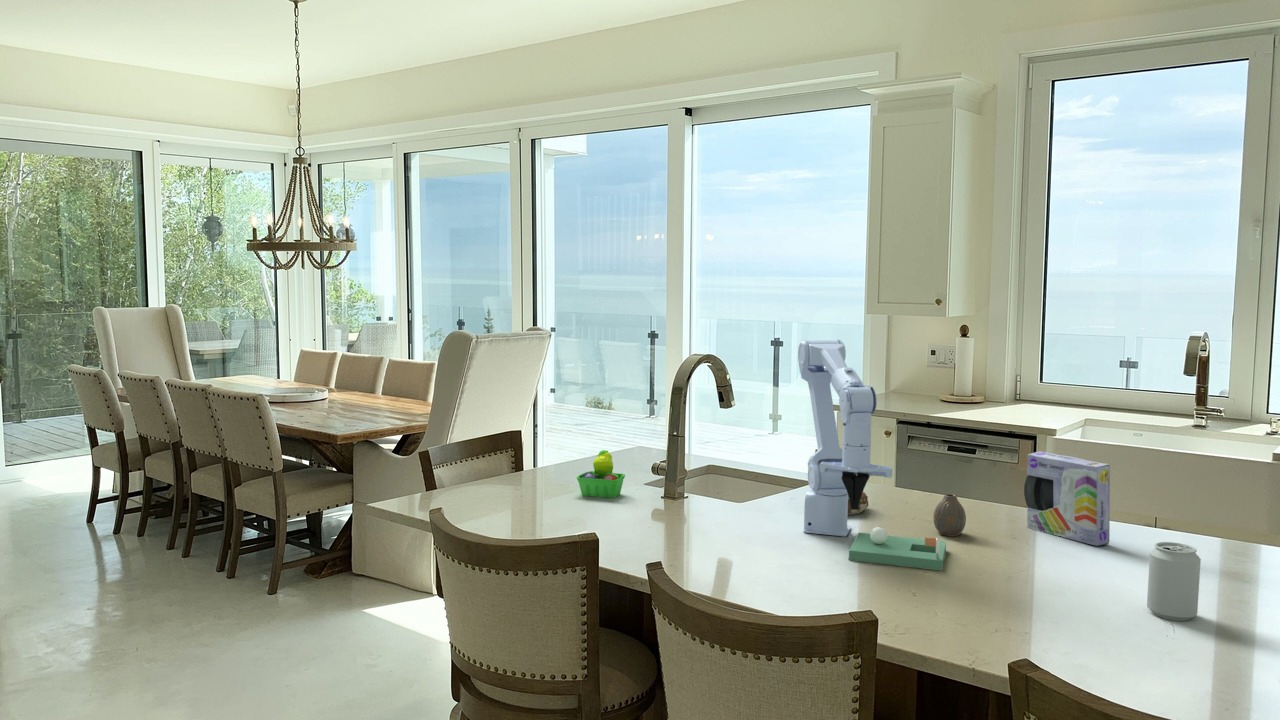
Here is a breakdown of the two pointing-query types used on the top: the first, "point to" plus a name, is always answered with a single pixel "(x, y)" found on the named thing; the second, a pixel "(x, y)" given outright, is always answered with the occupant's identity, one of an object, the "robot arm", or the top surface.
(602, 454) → the fruit basket
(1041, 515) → the cake pan box
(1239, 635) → the top surface
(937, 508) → the vase
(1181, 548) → the can
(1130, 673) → the top surface
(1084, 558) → the top surface
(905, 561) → the board
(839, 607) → the top surface
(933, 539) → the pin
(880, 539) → the ball
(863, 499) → the donut
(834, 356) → the robot arm
